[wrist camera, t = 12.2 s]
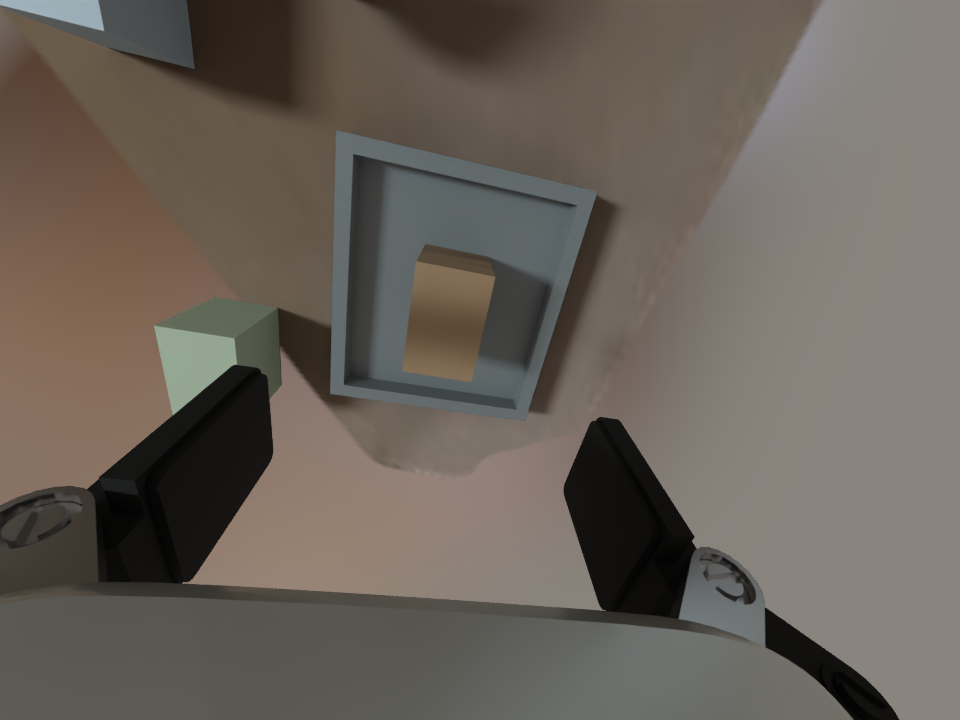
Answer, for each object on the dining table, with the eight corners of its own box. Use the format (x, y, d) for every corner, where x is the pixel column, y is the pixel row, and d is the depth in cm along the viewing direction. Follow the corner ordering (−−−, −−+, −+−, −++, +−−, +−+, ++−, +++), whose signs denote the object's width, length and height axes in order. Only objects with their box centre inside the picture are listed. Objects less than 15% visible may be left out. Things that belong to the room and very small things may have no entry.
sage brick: (215, 296, 27) (154, 325, 21) (278, 307, 27) (234, 338, 22) (225, 376, 30) (173, 419, 25) (281, 384, 30) (243, 428, 25)
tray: (347, 134, 23) (336, 130, 20) (585, 190, 25) (597, 191, 23) (339, 378, 30) (330, 393, 28) (520, 405, 32) (524, 421, 30)
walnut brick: (425, 243, 25) (416, 261, 20) (488, 256, 26) (495, 276, 20) (413, 334, 28) (402, 371, 23) (469, 344, 29) (471, 382, 23)
